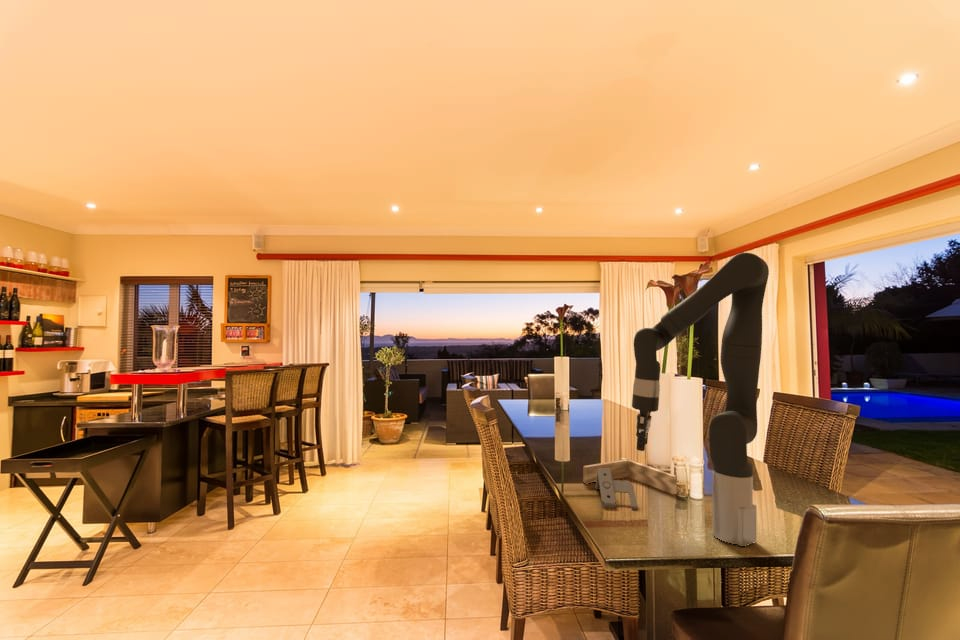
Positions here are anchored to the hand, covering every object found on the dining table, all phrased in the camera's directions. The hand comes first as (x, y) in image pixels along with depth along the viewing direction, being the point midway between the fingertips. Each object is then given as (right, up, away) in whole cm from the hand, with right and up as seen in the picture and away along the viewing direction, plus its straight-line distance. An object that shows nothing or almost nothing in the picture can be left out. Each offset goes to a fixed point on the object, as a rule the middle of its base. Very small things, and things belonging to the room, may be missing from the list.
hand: (641, 446), depth 132 cm
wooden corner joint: (+2, -20, +20) cm, 29 cm away
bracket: (-5, -20, +9) cm, 23 cm away
